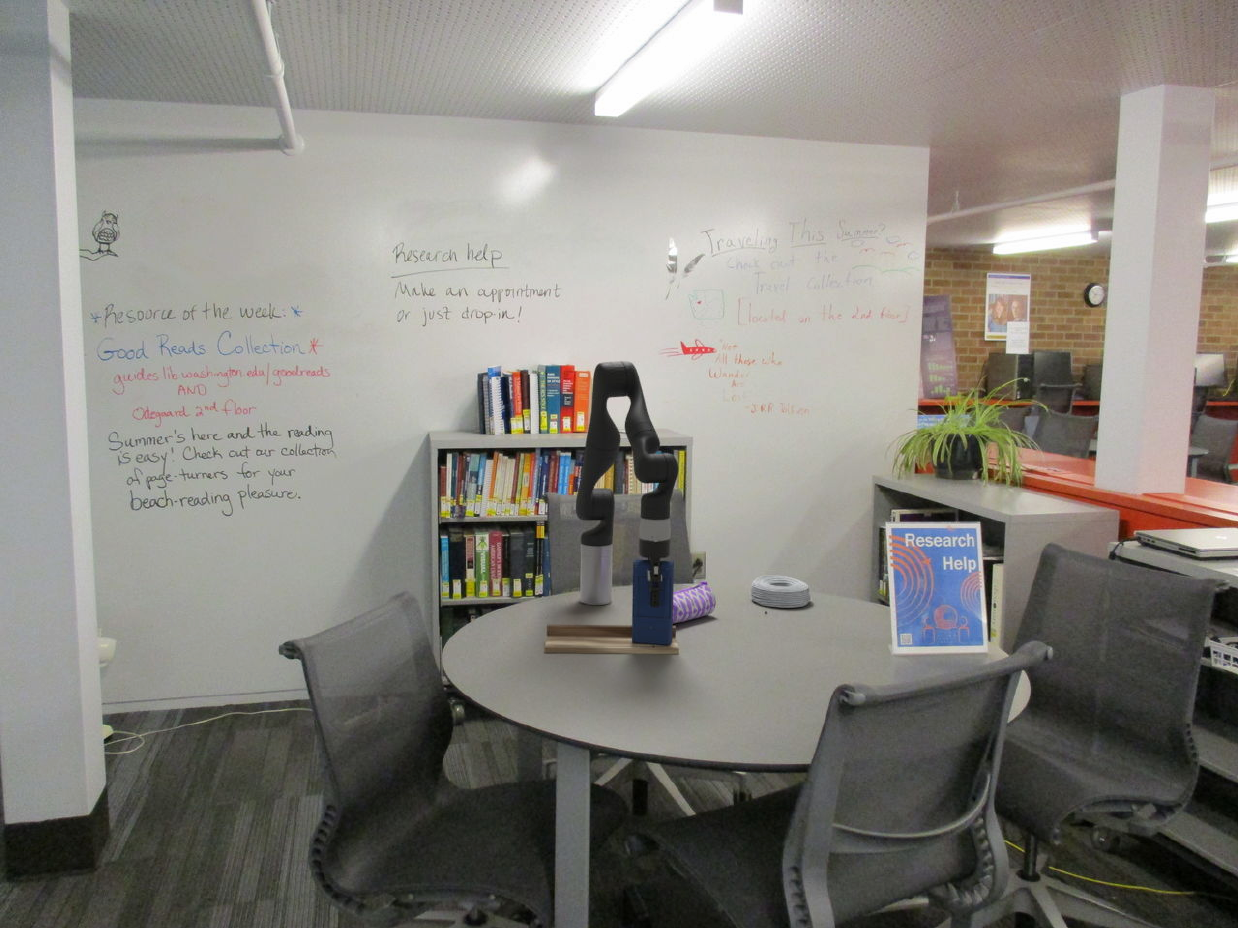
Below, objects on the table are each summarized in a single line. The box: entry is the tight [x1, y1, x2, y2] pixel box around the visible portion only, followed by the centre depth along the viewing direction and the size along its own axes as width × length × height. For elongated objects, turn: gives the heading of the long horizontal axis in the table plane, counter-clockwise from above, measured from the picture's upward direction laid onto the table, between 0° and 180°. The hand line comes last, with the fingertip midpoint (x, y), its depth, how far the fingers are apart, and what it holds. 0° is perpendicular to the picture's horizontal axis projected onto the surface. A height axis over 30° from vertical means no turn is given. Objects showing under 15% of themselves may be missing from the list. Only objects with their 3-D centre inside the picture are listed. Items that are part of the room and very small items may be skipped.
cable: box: [750, 574, 811, 609], centre depth 258 cm, size 18×18×6 cm
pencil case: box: [673, 580, 717, 624], centre depth 236 cm, size 22×9×10 cm, turn 136°
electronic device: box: [631, 558, 675, 646], centre depth 212 cm, size 10×5×20 cm, turn 78°
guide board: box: [544, 624, 680, 655], centre depth 213 cm, size 10×32×4 cm, turn 91°
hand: (653, 601), depth 212 cm, fingers open, 8 cm apart
